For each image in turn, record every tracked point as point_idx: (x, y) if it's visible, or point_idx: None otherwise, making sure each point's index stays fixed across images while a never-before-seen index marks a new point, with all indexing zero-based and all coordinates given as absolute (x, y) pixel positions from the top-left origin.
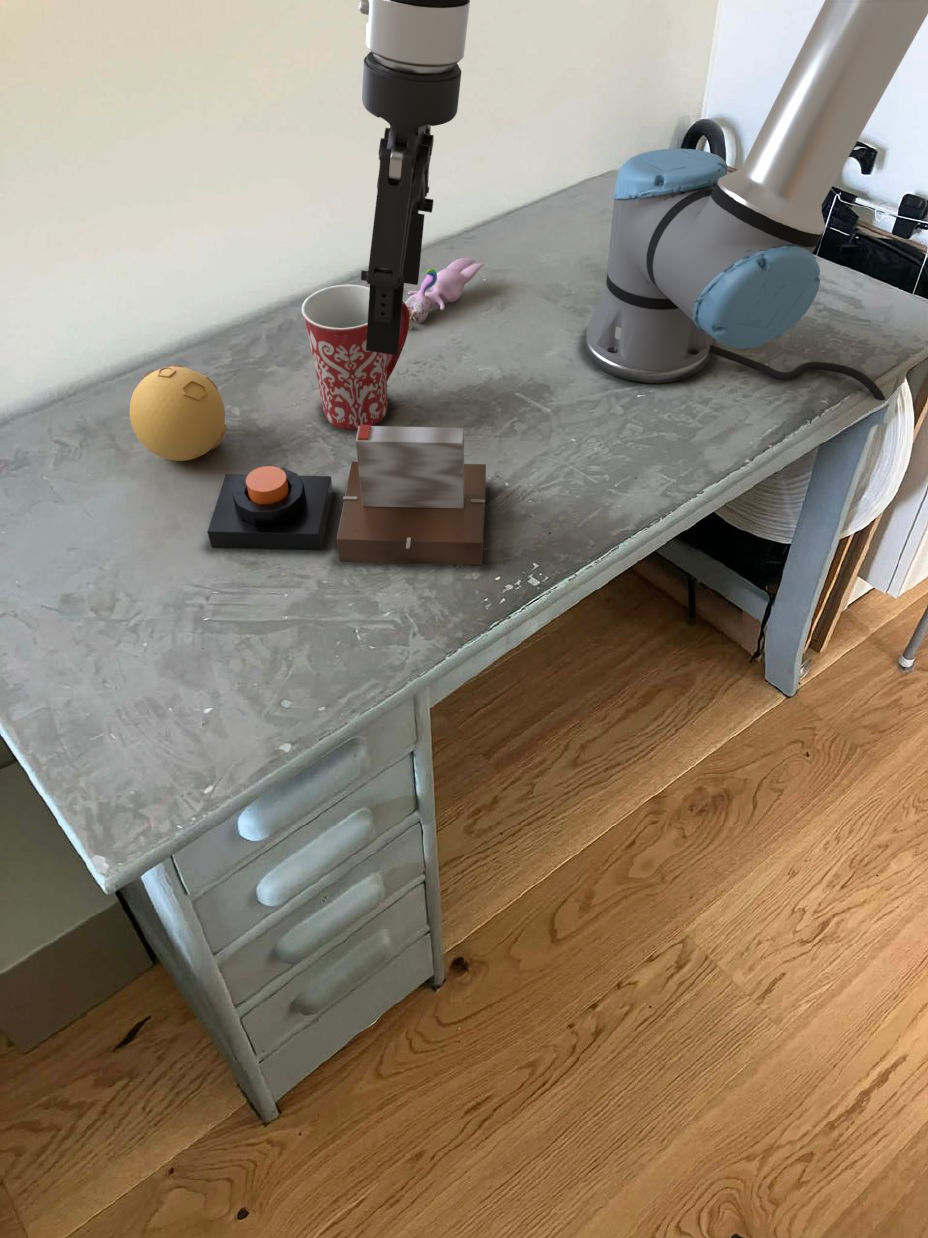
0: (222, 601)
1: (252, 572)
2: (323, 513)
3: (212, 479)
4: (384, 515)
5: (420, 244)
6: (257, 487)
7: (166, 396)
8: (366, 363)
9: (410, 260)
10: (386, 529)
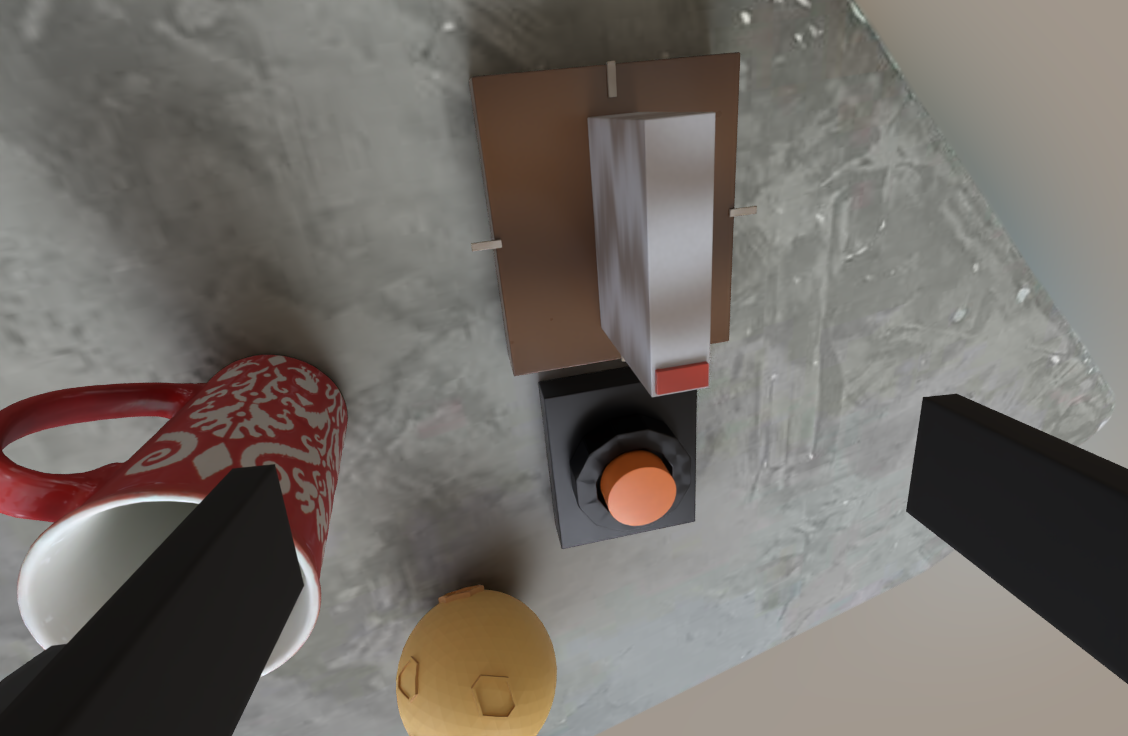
0: (781, 450)
1: (728, 434)
2: None
3: (534, 556)
4: None
5: (154, 622)
6: (666, 500)
7: (528, 723)
8: (292, 452)
9: (229, 583)
10: None
